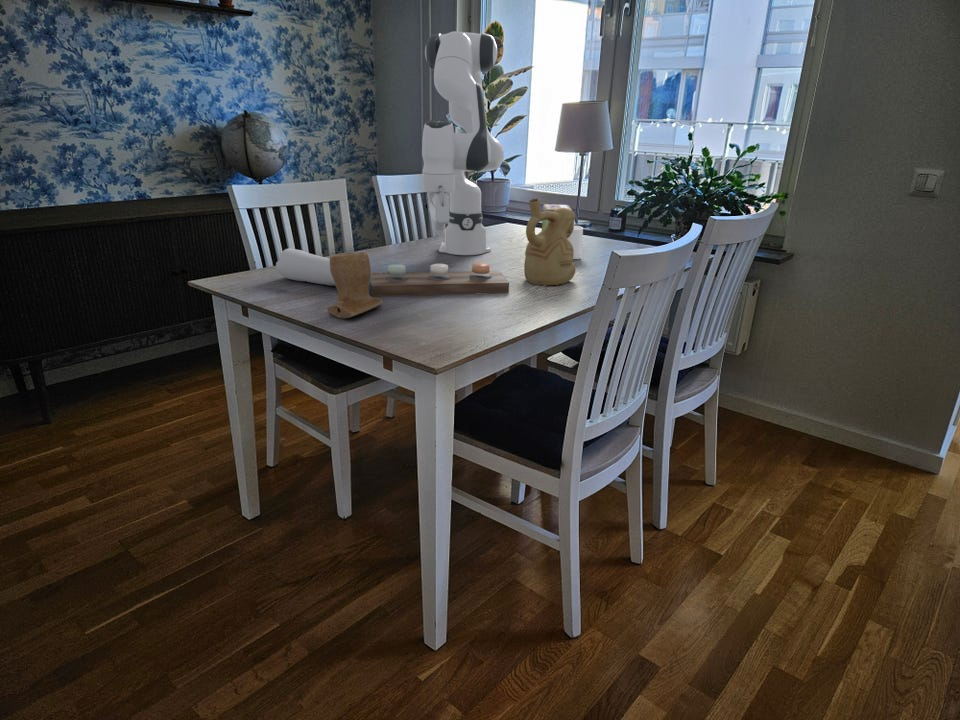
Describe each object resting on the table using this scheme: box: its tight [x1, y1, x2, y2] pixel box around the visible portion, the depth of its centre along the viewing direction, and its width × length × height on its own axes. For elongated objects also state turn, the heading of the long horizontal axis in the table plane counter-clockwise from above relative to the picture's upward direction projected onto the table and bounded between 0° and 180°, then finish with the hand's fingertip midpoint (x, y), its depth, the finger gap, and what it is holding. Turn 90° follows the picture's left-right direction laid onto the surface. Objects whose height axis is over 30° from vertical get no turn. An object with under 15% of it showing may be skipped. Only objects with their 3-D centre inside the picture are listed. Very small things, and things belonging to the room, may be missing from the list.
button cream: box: [430, 263, 449, 275], centre depth 178 cm, size 5×5×2 cm
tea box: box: [541, 203, 573, 231], centre depth 237 cm, size 15×10×15 cm, turn 178°
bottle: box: [275, 247, 372, 287], centre depth 179 cm, size 9×9×30 cm
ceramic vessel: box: [523, 198, 577, 286], centre depth 185 cm, size 17×20×25 cm
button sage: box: [387, 263, 407, 276], centre depth 176 cm, size 5×5×2 cm
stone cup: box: [326, 251, 384, 319], centre depth 155 cm, size 15×12×15 cm
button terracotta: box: [471, 262, 491, 274], centre depth 180 cm, size 5×5×2 cm
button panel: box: [371, 270, 510, 297], centre depth 179 cm, size 14×38×3 cm, turn 99°
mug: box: [567, 225, 584, 260], centre depth 216 cm, size 9×12×11 cm
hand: (439, 235), depth 174 cm, fingers closed
